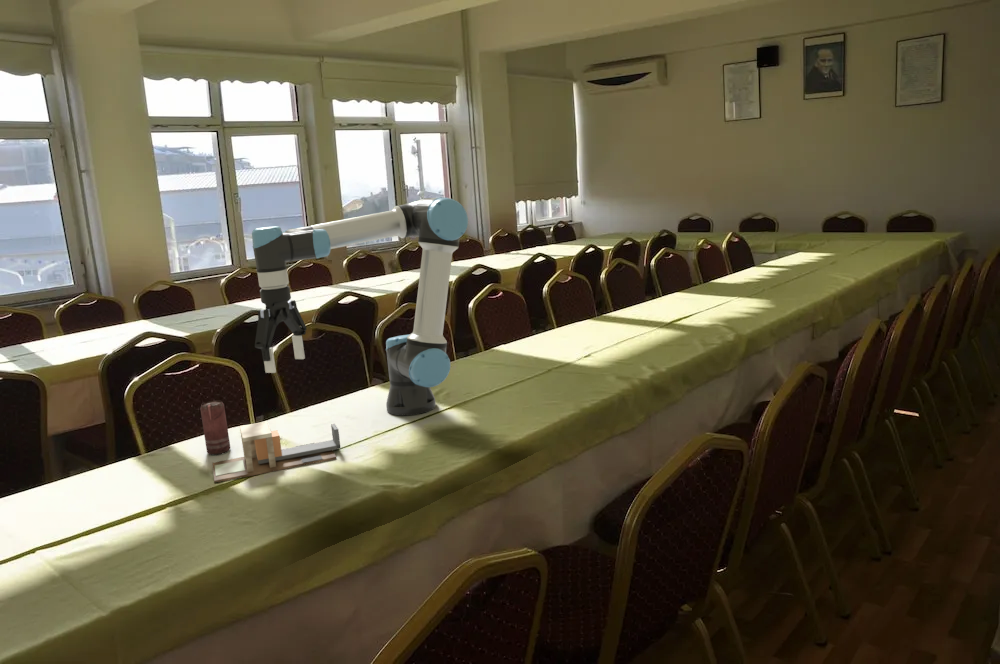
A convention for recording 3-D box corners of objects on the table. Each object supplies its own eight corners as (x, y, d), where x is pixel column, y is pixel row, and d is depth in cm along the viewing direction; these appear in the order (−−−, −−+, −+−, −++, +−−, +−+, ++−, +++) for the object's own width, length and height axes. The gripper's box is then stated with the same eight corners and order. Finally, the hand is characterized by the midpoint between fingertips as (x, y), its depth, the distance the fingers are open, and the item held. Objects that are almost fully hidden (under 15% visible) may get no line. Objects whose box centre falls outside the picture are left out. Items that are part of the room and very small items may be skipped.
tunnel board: (327, 443, 215) (323, 409, 213) (336, 459, 203) (332, 423, 201) (212, 464, 205) (207, 430, 203) (214, 483, 192) (208, 446, 190)
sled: (337, 442, 212) (334, 419, 211) (340, 448, 207) (337, 425, 206) (256, 457, 204) (253, 434, 203) (258, 464, 200) (255, 440, 198)
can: (206, 457, 211) (198, 407, 208) (208, 449, 217) (200, 401, 214) (229, 453, 212) (222, 404, 210) (231, 446, 218) (224, 398, 216)
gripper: (289, 279, 216) (299, 353, 221) (232, 296, 193) (245, 378, 198) (312, 278, 214) (322, 353, 218) (257, 295, 191) (270, 378, 195)
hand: (285, 365), depth 208 cm, fingers open, 13 cm apart
